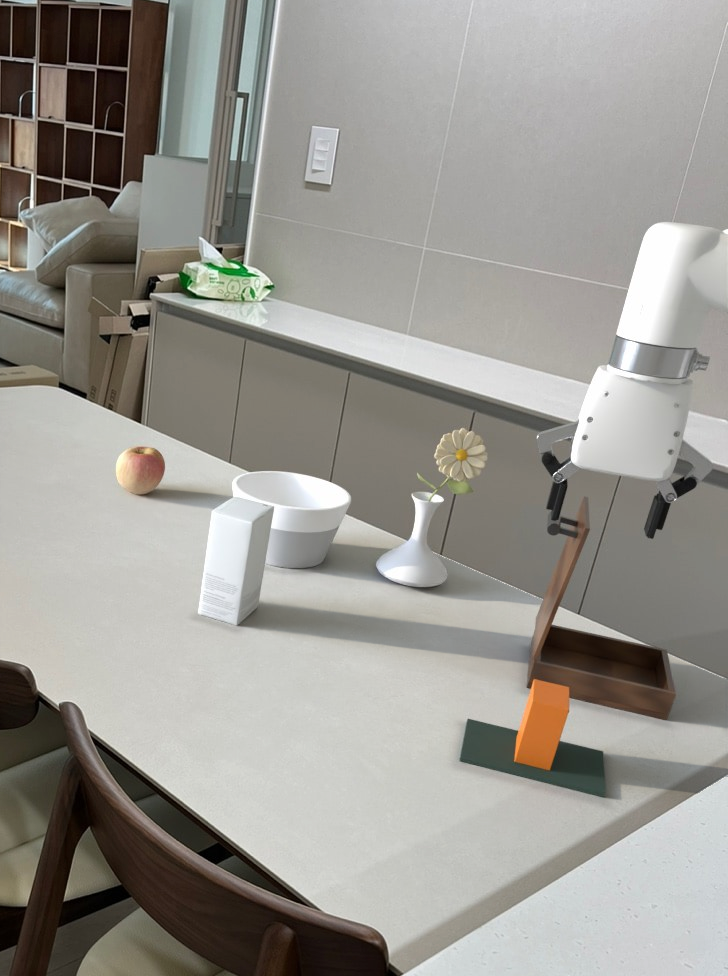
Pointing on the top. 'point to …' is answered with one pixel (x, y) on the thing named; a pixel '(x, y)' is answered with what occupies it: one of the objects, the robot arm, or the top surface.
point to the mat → (567, 770)
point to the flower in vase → (415, 558)
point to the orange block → (542, 724)
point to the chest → (605, 671)
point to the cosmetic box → (235, 559)
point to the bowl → (296, 514)
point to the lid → (561, 569)
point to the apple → (140, 469)
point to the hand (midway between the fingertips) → (600, 525)
